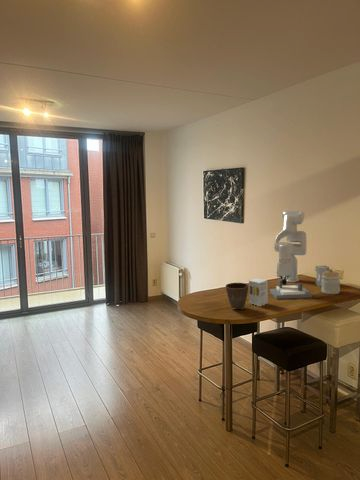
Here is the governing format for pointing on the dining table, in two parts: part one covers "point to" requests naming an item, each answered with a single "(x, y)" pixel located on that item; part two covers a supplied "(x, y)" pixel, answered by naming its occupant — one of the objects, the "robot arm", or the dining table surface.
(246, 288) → the plant pot
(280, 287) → the breaker handle
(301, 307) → the dining table surface
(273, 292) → the breaker panel
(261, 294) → the supplement box
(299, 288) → the breaker handle
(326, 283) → the jar
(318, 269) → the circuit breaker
